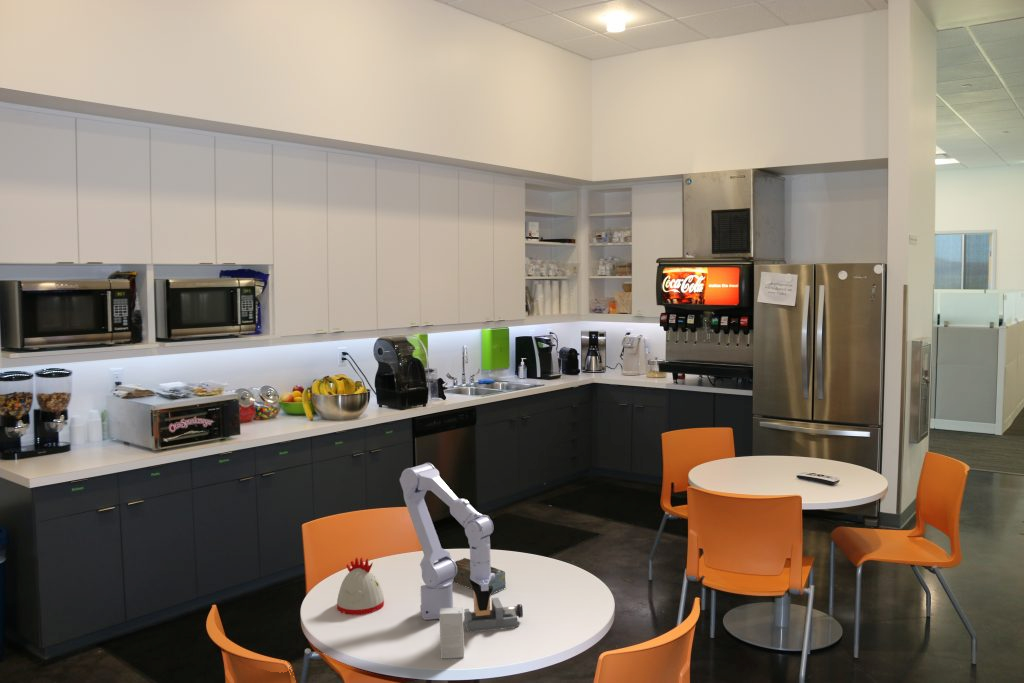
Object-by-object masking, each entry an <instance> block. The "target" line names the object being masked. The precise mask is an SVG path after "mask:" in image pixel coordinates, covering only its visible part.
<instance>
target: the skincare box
mask: <svg viewBox="0 0 1024 683" xmlns="http://www.w3.org/2000/svg"><path fill="white" fill-rule="evenodd" d="M439 637H440V639H439V640H440V658H441V659H442V658H443V659H460V658H464V657H465V639H464V638H465V636H464V613H463V607H462V606H459V607H453V608H440V613H439Z"/></svg>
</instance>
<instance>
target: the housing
mask: <svg viewBox="0 0 1024 683" xmlns="http://www.w3.org/2000/svg"><path fill="white" fill-rule="evenodd" d="M490 599H491V609H490V615H482V616H476V615H475V612H474V611H470V608H464V613H463V622H464V624H465V626H466V627H465V628H466V629H467V632H468V633H474V632H475V633H476V632H484V631H493V630H495V631H496V630H502V629H501V628H505V629H513V627H514V628H518V627H519V626H518V616H515V617H505V618H503V607H504V606H503V604H502V602H501V600H500V598H499V597H492V598H490Z"/></svg>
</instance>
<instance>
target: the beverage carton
mask: <svg viewBox="0 0 1024 683" xmlns="http://www.w3.org/2000/svg"><path fill="white" fill-rule="evenodd" d="M455 563H456V565H457V574H456V576H455V577H454V581H453V582H452V583H454V582H455V583H454V584H456V583H458V584H457V585H459V584H460V585H459V586H462V585H463V586H462V587H465V586H466V587H465V588H467V587H469V588H468V589H470V588H472V585H471V583H470V581H469V579H470V575H471V571H470V558H466V557H463V558H461V559H457V560H456V561H455ZM491 573H494V574H495V577H494V578H491V580H490V582H489V584H488V586H491V585H492V586H493V590H492V592H491V593H493V594H495V593H494V592H496V591H498V592H500V591H499V590H501V589H503V590H505V589H506V588H507V587H506V585H507V584H506V583H507V581H506V571H504V570H502V569H498V568H496V567H493V566H491ZM504 588H505V589H504ZM471 590H473V588H472V589H471ZM501 591H502V590H501ZM496 593H497V592H496Z"/></svg>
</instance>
